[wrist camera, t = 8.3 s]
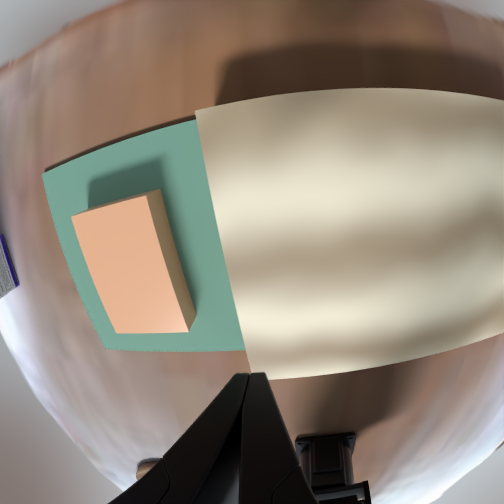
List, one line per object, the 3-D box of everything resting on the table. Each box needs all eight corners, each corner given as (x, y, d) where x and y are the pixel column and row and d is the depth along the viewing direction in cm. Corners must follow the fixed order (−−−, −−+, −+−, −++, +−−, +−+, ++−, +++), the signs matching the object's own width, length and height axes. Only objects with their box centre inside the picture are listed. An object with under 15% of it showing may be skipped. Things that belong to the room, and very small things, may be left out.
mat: (258, 346, 21) (257, 349, 20) (106, 346, 23) (105, 348, 23) (212, 116, 15) (211, 115, 15) (44, 173, 17) (41, 174, 17)
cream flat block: (489, 306, 18) (509, 330, 14) (258, 346, 21) (253, 380, 17) (501, 107, 12) (533, 107, 9) (212, 116, 15) (194, 110, 12)
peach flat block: (116, 333, 19) (127, 318, 21) (188, 332, 18) (196, 314, 20) (70, 216, 16) (87, 208, 18) (146, 195, 15) (160, 188, 17)
